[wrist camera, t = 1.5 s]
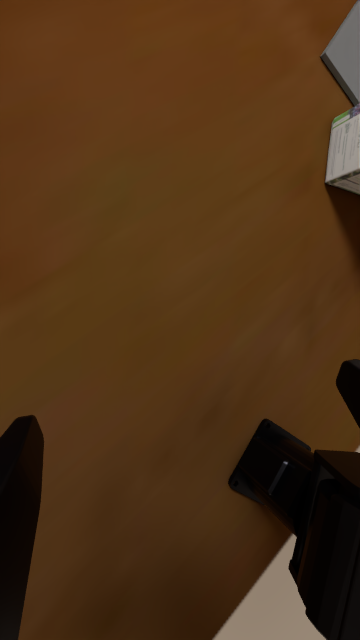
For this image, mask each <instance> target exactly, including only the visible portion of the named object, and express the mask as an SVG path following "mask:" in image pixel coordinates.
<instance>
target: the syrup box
mask: <svg viewBox="0 0 360 640" xmlns="http://www.w3.org/2000/svg"><path fill="white" fill-rule="evenodd" d="M325 183H327V184H329V185H332V186H335V187H338V188H341V189H344V190H347V191H350V192H353V193H356V194H358V195H360V104H358V105H356V106H355V107H353V108H351V109H350V110H348V111H346V112H345V113H343V114H341V115H339V116H338V117H336V118H335V119H334V120H333V122H332V129H331V137H330V145H329V153H328V162H327V171H326V180H325Z"/></svg>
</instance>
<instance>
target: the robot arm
mask: <svg viewBox="0 0 360 640" xmlns="http://www.w3.org/2000/svg"><path fill="white" fill-rule="evenodd" d="M336 386H337V388H338V390H339V392H340V394H341V396H342V397H343V399H344V401H345V403H346V405H347V406H348V408H349V410H350V412H351V414H352V416H353V417H354V419H355V421H356V423H357V425H358V426H359V428H360V360H358V359H353V360H347V361H344V362H343V363H342V365H341V367H340V370H339V373H338V376H337V379H336ZM267 423H268V424H267ZM266 424H267V426H266ZM43 451H44V438H43V434H42V431H41V429H40V426H39V424H38V421H37V419H36V417H35V416H34V415H28V416H22V417H18V418H17V419H15V420H14V421H13V423H12V424H11V425H10V426H9V427H8V429H7V430H6V431H5V432H4V434H3V435H2V436H1V437H0V640H18V636H19V630H20V624H21V618H22V612H23V606H24V600H25V594H26V588H27V582H28V576H29V570H30V564H31V558H32V552H33V546H34V540H35V534H36V528H37V522H38V516H39V510H40V502H41V488H42V469H43ZM235 481H236V482H235ZM234 482H235V483H234ZM233 483H234V484H233ZM228 484H229V486H230V487H231V488H232V489H234V490H236V491H238V492H240V493H242V494H244V495H246V496H248V497H250V498H251V499H253V500H255V501H257V502H259V503H261V504H263V505H265V506H266V507H267V508H268V509H269V510H270V511H271V512H272V513H273V514H274V515H275V516H276V517H277V518H278V519H279V520H280V521H281V522H282V523H283V524H284V525H285V526H286V527H287V528H288V529H289V530H290V531H291V532H292V533H293V534H294V535H295V536H296V537H297V539H296V543H295V548H294V552H293V557H292V559H291V560H290V563H289V570H290V573H291V574H292V577H293V579H294V581H295V583H296V585H297V587H298V592H299V594H300V596H301V598H302V600H303V603H304V605H305V607H306V615H307V617H308V619H309V620H310V621H311V623H312V624H313V625H314V626H315V628H316V629H317V630H318V631H319V632H320V633H321V634H322V635H323V636H324V637H325V638H326V640H360V453H358V452H345V451H329V450H315V452H314V453H312V452H311V448H310V447H309V446H308V445H306V444H305V443H303V442H302V441H300V440H299V439H297V438H296V437H294V436H293V435H291V434H290V433H288V432H287V431H285V430H284V429H282V428H281V427H279V426H278V425H276V424H275V423H273V422H272V421H270V420H269V419H264V420H262V422H261V424H260V425H259V427H258V429H257V431H256V432H255V434H254V436H253V438H252V439H251V441H250V443H249V445H248V447H247V448H246V450H245V452H244V454H243V455H242V457H241V459H240V461H239V463H238V464H237V466H236V468H235V470H234V471H233V473H232V475H231V477H230V478H229V481H228Z"/></svg>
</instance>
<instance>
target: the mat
mask: <svg viewBox="0 0 360 640" xmlns="http://www.w3.org/2000/svg"><path fill="white" fill-rule="evenodd" d="M320 57H321V58H322V60H323V61H324V62H325V64H326V65H327V67H328V68H329V70H330V71H331V72H332V74H333V75H334V77H335V78H336V80H337V81H338V83H339V84H340V85H341V87H342V88H343V90H344V91H345V93H346V94H347V95H348V97H349V98H350V100H351V101H352V103H353V104H354V106H356V105H358V104H360V0H358V1H357V2H356V4H355V5H354V7H353V8H352V10H351V11H350V13H349V14H348V16H347V17H346V19H345V20H344V22H343V23H342V25H341V26H340V28H339V29H338V31H337V32H336V34H335V35H334V37H333V38H332V40H331V41H330V43H329V44H328V46H327V47H326V49H325V50H324V52H323V53H322V55H321V56H320Z"/></svg>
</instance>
